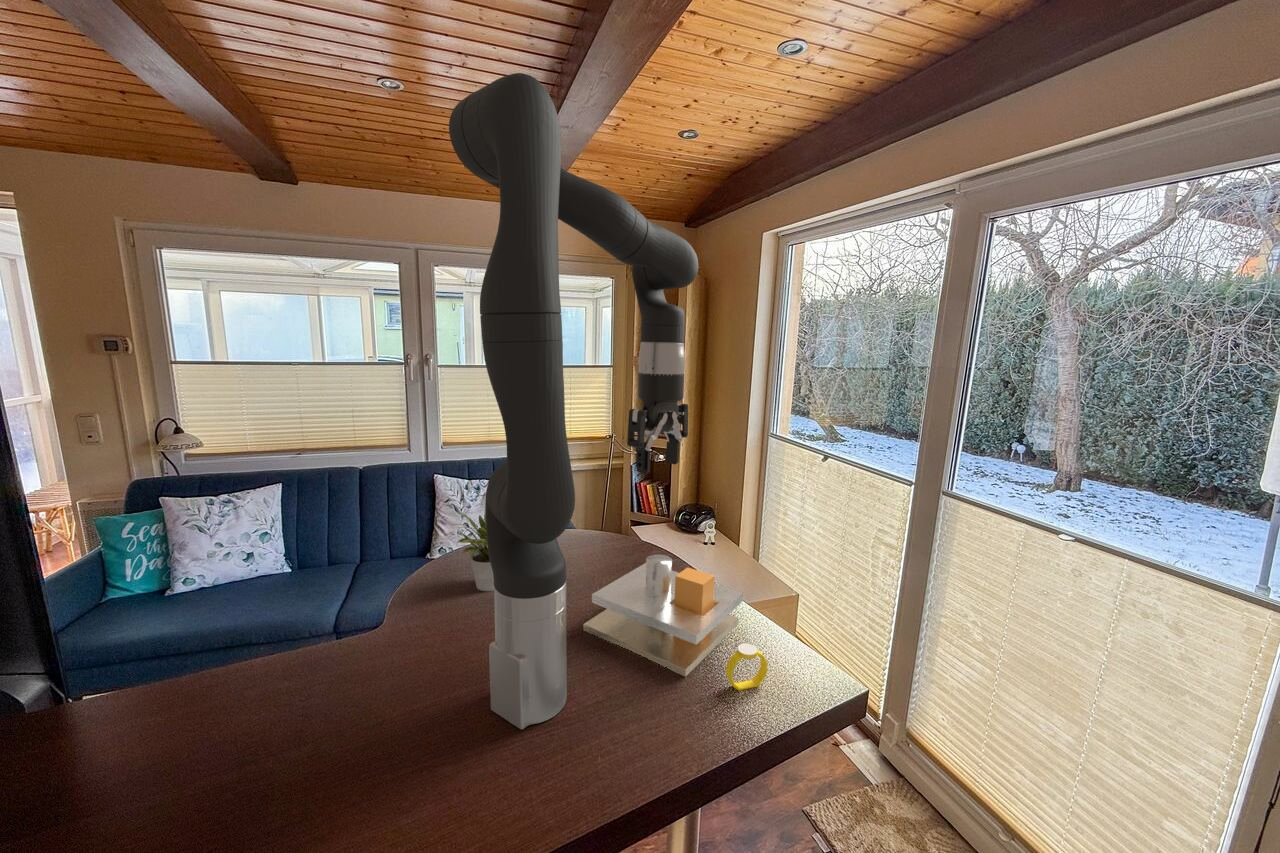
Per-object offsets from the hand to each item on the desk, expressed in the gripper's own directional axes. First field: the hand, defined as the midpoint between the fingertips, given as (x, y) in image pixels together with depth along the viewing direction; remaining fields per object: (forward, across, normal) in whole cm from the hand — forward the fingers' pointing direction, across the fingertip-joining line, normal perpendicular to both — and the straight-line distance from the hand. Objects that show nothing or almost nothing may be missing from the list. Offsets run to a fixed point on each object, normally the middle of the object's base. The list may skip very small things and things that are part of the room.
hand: (658, 467), depth 86 cm
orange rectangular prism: (+26, -1, -9) cm, 28 cm away
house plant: (+28, -10, +34) cm, 45 cm away
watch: (+28, -6, -21) cm, 35 cm away
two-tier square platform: (+28, -1, -3) cm, 28 cm away
